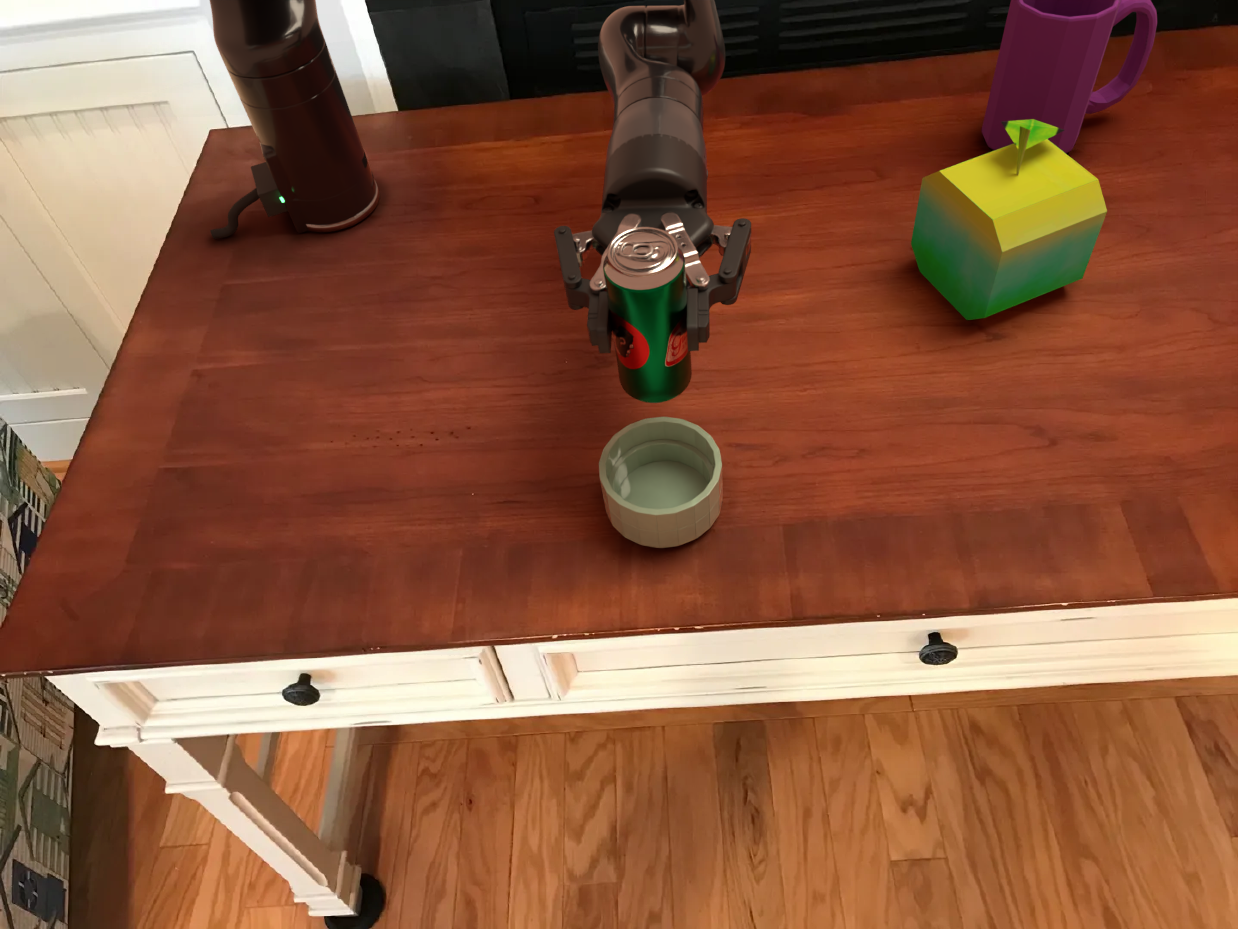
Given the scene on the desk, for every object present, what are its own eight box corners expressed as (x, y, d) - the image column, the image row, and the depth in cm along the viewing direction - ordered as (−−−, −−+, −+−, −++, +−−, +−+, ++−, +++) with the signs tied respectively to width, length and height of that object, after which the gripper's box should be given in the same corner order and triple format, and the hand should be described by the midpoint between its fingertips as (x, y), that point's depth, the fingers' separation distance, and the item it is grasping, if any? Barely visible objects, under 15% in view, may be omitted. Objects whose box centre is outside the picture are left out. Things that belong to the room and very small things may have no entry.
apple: (1076, 294, 85) (1131, 145, 73) (979, 333, 83) (1020, 187, 72) (999, 224, 91) (1038, 76, 80) (907, 259, 90) (933, 114, 78)
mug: (963, 124, 101) (993, -20, 89) (1098, 87, 103) (1146, -60, 91) (1010, 175, 96) (1049, 28, 84) (1153, 135, 97) (1211, -15, 85)
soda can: (686, 410, 67) (677, 280, 58) (614, 405, 68) (593, 276, 58) (696, 356, 70) (689, 223, 60) (627, 351, 71) (609, 220, 61)
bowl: (632, 569, 73) (626, 532, 69) (589, 480, 78) (581, 441, 74) (742, 525, 74) (742, 487, 70) (693, 441, 79) (690, 401, 75)
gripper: (551, 136, 70) (526, 304, 60) (754, 125, 69) (763, 296, 58) (566, 219, 76) (545, 385, 66) (753, 211, 75) (761, 379, 64)
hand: (648, 342), depth 62 cm, fingers closed on soda can, 5 cm apart
